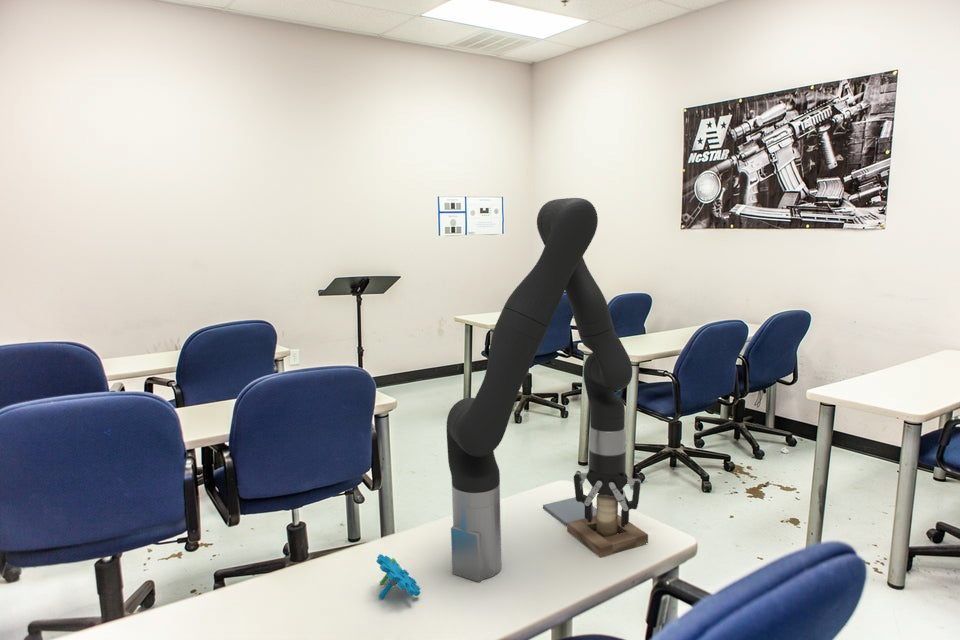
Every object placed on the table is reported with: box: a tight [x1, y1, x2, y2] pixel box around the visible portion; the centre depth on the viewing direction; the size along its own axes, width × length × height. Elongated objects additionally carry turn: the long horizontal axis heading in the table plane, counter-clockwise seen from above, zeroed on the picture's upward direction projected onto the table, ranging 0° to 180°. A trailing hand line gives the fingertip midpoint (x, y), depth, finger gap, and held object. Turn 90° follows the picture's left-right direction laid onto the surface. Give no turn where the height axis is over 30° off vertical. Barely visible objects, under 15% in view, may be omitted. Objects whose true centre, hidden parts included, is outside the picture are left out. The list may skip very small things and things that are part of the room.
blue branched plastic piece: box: [376, 553, 421, 600], centre depth 109 cm, size 11×6×10 cm
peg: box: [596, 493, 619, 538], centre depth 127 cm, size 4×4×9 cm
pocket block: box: [566, 514, 649, 558], centre depth 127 cm, size 12×12×2 cm
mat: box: [542, 496, 597, 527], centre depth 139 cm, size 10×10×1 cm
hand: (606, 522), depth 127 cm, fingers open, 6 cm apart
